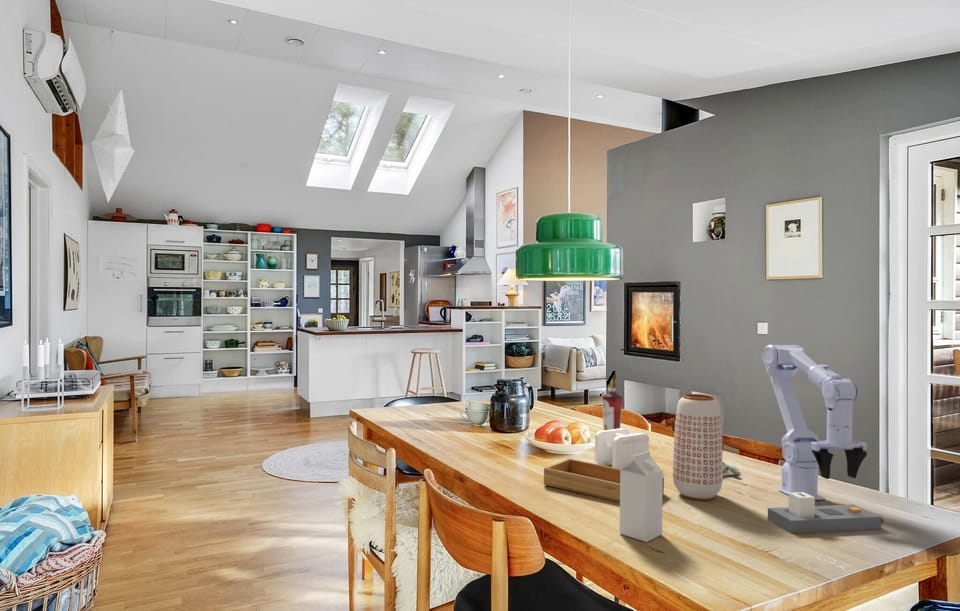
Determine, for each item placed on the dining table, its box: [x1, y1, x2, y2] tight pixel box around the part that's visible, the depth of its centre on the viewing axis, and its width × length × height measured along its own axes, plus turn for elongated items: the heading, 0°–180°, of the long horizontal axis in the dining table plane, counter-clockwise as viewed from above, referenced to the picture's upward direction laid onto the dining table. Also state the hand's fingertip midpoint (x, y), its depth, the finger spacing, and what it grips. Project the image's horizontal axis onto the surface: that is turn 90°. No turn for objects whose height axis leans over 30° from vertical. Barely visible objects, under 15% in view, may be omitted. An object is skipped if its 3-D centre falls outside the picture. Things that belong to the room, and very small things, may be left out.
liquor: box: [601, 372, 623, 431], centre depth 230 cm, size 7×7×28 cm
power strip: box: [767, 504, 884, 534], centre depth 150 cm, size 28×9×4 cm, turn 98°
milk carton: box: [619, 450, 664, 543], centre depth 142 cm, size 7×7×19 cm
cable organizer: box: [594, 427, 650, 469], centre depth 201 cm, size 15×11×12 cm
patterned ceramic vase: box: [672, 393, 724, 501], centre depth 172 cm, size 13×13×28 cm
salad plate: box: [723, 462, 740, 478], centre depth 197 cm, size 19×18×5 cm
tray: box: [543, 458, 665, 503], centre depth 176 cm, size 31×15×6 cm, turn 53°
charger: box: [788, 492, 816, 518], centre depth 149 cm, size 4×4×7 cm
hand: (838, 477), depth 158 cm, fingers open, 7 cm apart
